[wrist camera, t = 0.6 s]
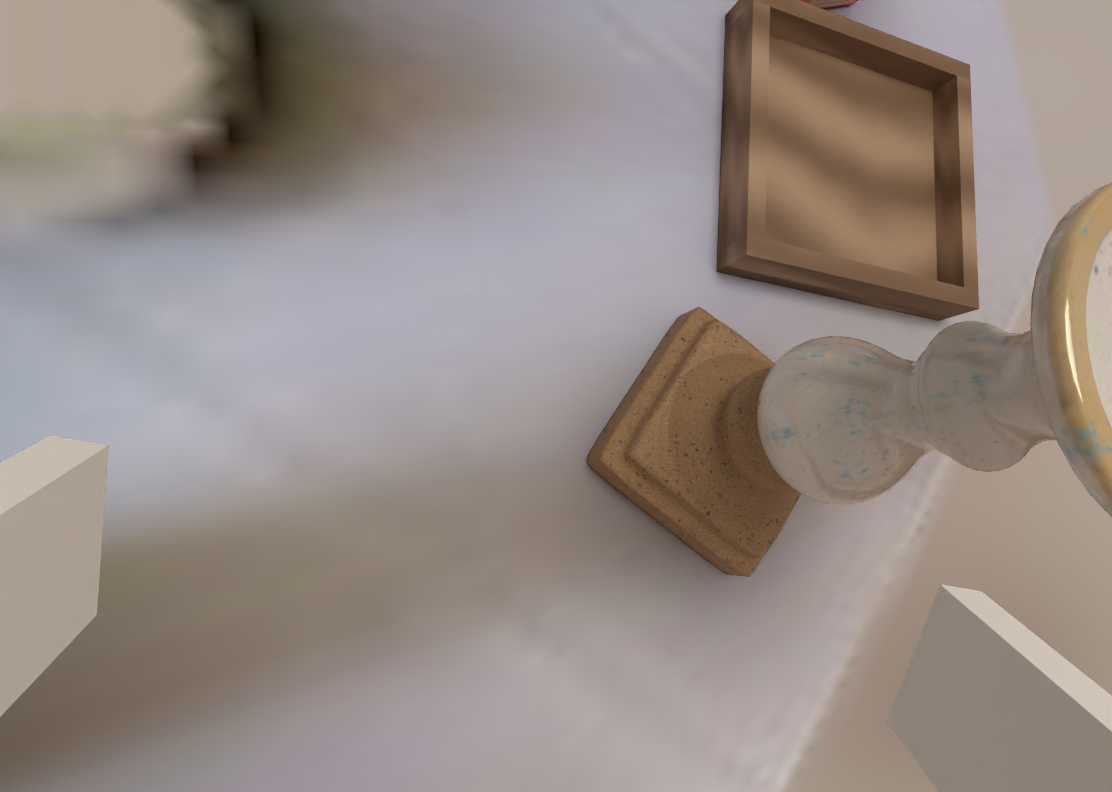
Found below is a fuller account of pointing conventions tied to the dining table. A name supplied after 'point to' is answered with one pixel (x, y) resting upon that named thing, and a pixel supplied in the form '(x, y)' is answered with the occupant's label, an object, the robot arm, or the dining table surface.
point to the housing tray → (846, 162)
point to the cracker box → (829, 3)
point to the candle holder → (865, 407)
